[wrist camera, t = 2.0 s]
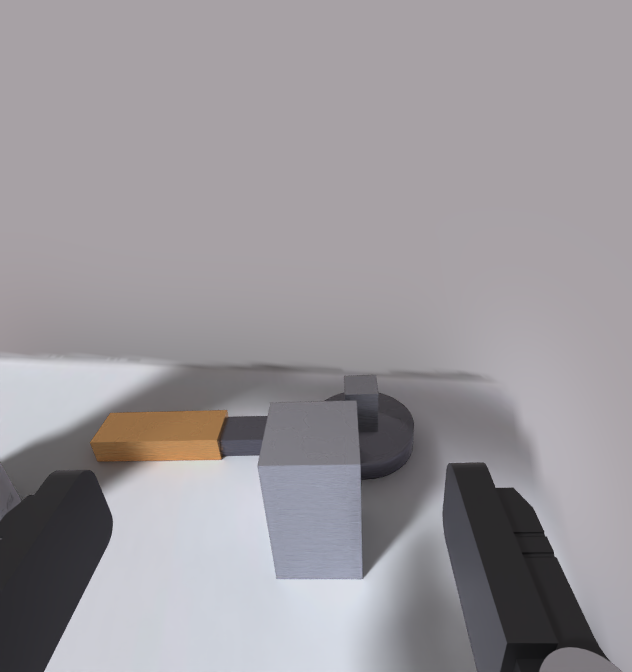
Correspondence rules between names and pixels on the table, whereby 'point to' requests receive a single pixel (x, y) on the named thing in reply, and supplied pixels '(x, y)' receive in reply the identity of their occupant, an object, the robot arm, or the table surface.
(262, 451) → the brushed metal block
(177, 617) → the table surface
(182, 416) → the ratchet
